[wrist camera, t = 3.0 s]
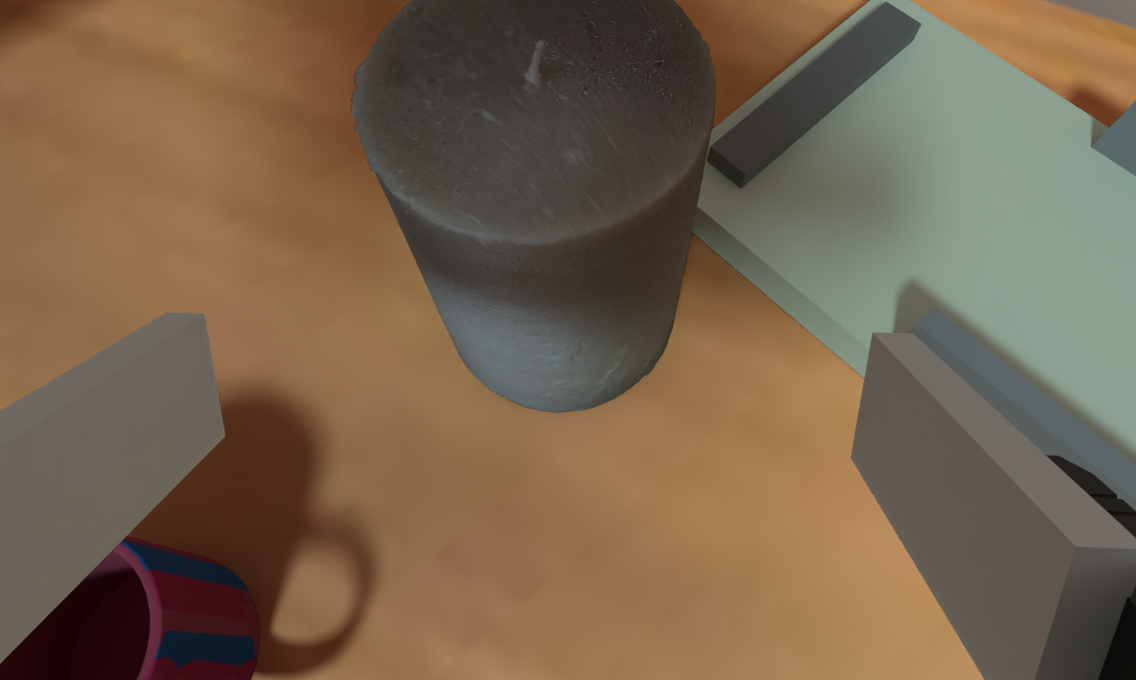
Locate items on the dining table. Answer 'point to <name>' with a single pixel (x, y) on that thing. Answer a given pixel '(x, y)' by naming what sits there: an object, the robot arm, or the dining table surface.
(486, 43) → the pillar candle
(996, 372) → the deck plate
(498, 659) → the dining table surface
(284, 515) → the dining table surface
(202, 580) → the mug
